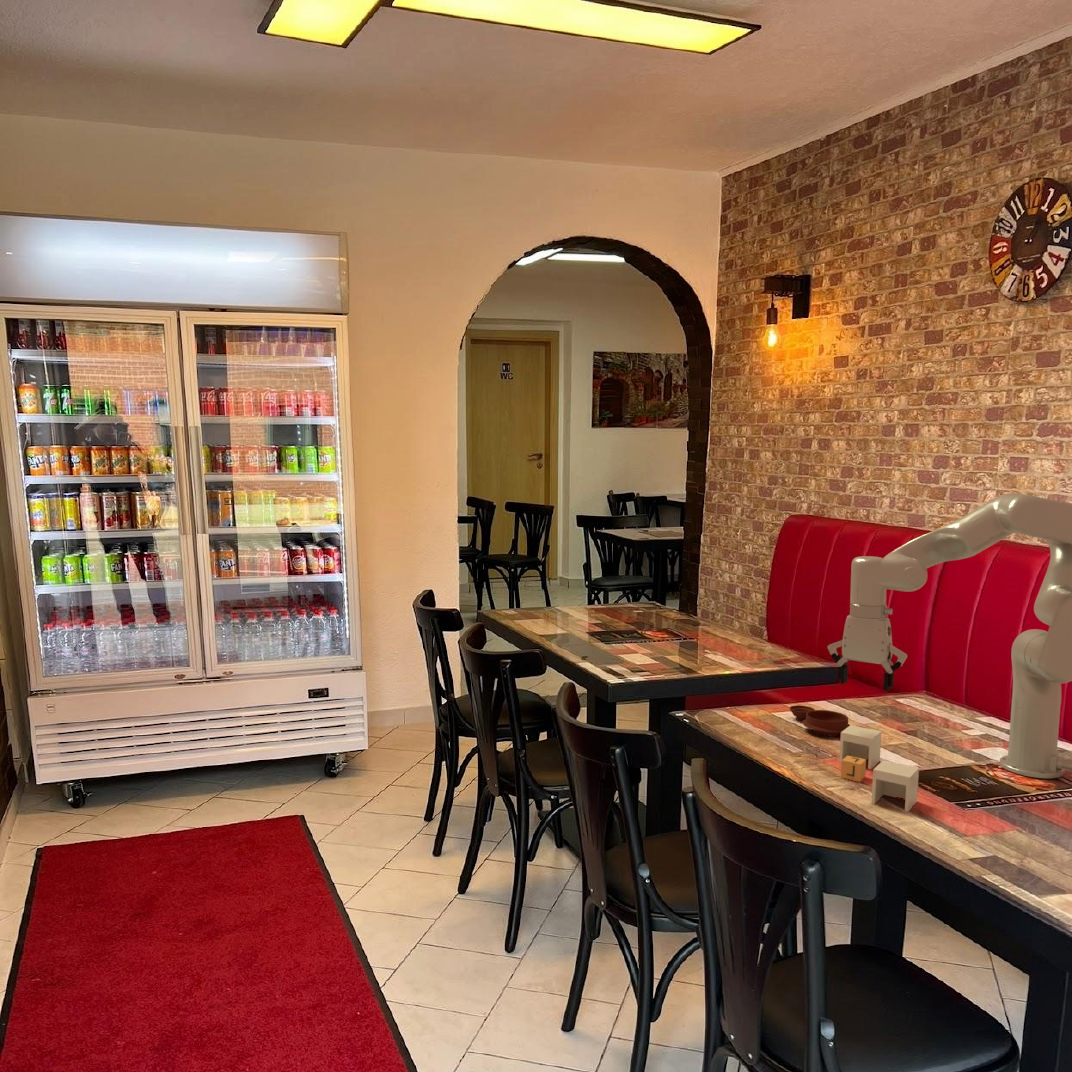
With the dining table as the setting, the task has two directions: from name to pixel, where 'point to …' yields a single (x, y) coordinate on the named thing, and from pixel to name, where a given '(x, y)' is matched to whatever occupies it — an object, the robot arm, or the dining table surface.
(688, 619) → the dining table surface
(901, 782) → the cover empty
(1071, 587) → the robot arm
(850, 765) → the letter cube
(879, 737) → the cover cube
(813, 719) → the pottery
